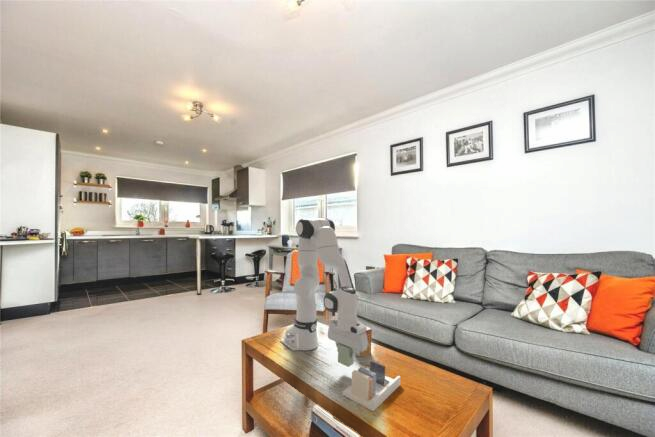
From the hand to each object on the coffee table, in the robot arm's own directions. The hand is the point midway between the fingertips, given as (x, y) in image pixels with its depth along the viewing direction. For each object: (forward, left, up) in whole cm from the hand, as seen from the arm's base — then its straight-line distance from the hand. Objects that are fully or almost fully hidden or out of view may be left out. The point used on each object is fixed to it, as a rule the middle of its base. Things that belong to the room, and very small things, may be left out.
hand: (346, 354), depth 121 cm
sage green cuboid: (0, 0, -4) cm, 4 cm away
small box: (-6, +22, -9) cm, 24 cm away
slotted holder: (+15, -2, -9) cm, 18 cm away
